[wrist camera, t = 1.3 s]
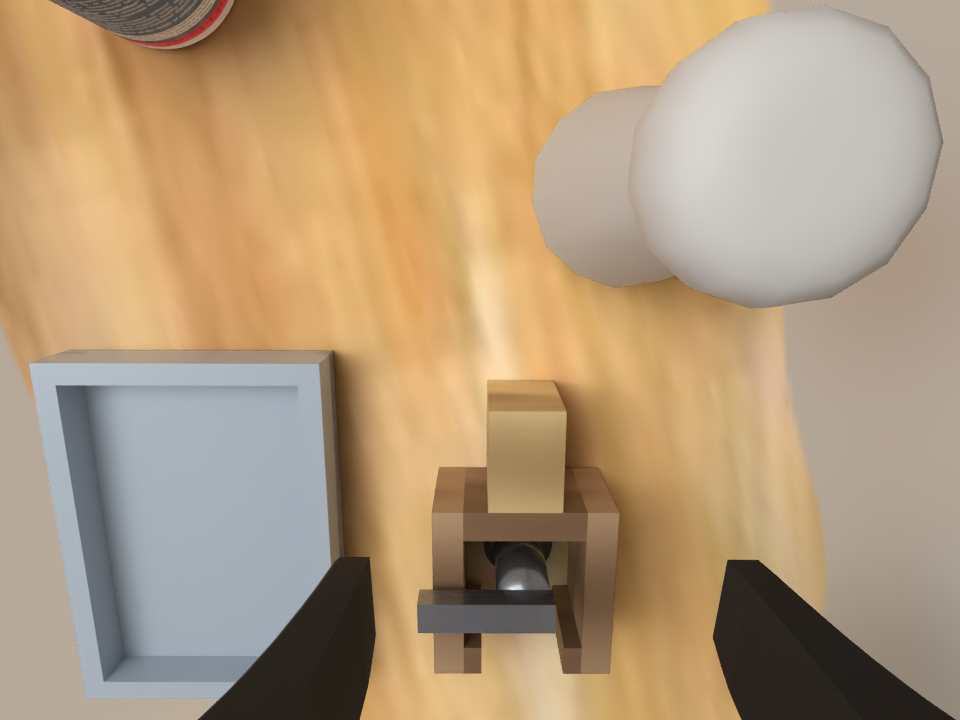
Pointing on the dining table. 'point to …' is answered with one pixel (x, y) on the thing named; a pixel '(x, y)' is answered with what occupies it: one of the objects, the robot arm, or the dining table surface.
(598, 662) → the wooden stool frame
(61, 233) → the dining table surface
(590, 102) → the salt shaker
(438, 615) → the grey lever handle
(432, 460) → the dining table surface
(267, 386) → the tray
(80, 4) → the pill bottle
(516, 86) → the dining table surface
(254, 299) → the dining table surface
